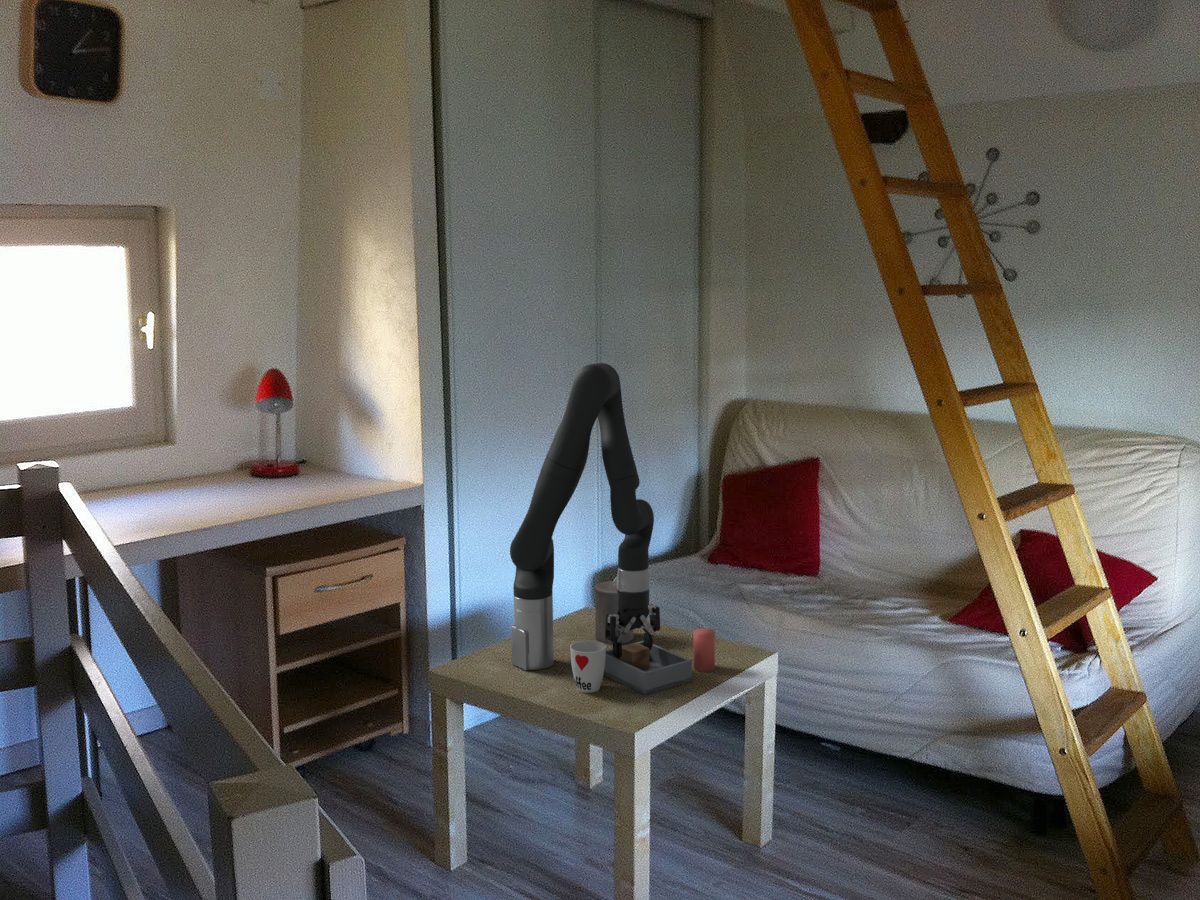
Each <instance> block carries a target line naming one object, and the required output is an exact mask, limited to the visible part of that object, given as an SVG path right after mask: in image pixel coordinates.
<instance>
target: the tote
mask: <svg viewBox="0 0 1200 900" xmlns="http://www.w3.org/2000/svg"><path fill="white" fill-rule="evenodd" d="M633 643H634V642H633ZM633 643H631V644H633ZM635 643H638V644H641V645H644V640H640V641H637V642H635ZM629 644H630V643H627V645H629ZM649 668H650V669H647V670H643V671H642V670H640V669H638V668H636V667H634V666H632V665H630V664H627V663H625V662H623V661H621V660H619V658H618V657H616V656H614V654H613V648H610V649H606V658H605V668H604V674H603V676H605V677H607V678H609V679H612V680H613V681H615V682H617V683H619V684H621V685H623V686H626V687H627V688H629V689H632V690H634V691H636V692H638V693H640V694H642V695H644V696H646V695H649V694H653V692H654V693H656V691H657V692H660V691H663V690H668V689H670V687H671V688H674V687H678V686H680V684H681V685H684V683H685V684H688V683H691V681H692V682H693V660H692V659H689V658H687V657H685V656H682V655H680V654H678V653H675V652H674V651H670V650H668V649H667V648H663V646H659V645H657V644H654V643H653V646H652V647H651V650H649ZM687 682H688V683H687ZM677 685H678V686H677ZM673 686H674V687H673Z"/></svg>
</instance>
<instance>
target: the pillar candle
mask: <svg viewBox="0 0 1200 900" xmlns="http://www.w3.org/2000/svg"><path fill="white" fill-rule="evenodd" d="M594 590H595V592H594V593H595V616H594V617H595V618H594V619H595V641H598V642H602V643H604V644H605V645H613V642H612V641H610V640H608V639H606V638H605V625H606V615H607V614H610V615H615V614H617V612H618V606H617V580H608V581H602V582H600V583H598V584H596V585H595V589H594ZM618 621H619V620H617V622H618ZM616 625H617V624H616ZM621 629H624V627H623V626H622V627H621ZM633 639H634V629H633V630H629V631H628V633H627V634H626V635H624V637H623V639H622V641H621V642H622V645H624V644H629V643H630V642H631V641H632V640H633Z"/></svg>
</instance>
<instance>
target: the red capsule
mask: <svg viewBox="0 0 1200 900" xmlns="http://www.w3.org/2000/svg"><path fill="white" fill-rule="evenodd" d="M692 633H693V636H692V638H693V642H692V643H693V646H692V647H693V653H692V654H693V655H692V657H693V660H692V669H693V668H694V669H695V670H694V669H693V670H694V671H696V670H697V671H696V672H699V671H701V672H700V673H710V672H712V670H713V671H714V670H715V666H716V665H715V661H716V660H715V659H716V658H715V655H716V652H715V651H716V646H715V645H716V641H715V640H716V632H715V630H714V629H712V628H707V627H706V628H704V627H703V628H702V627H701V628H696V629H694V630H693V632H692ZM709 671H710V672H709Z"/></svg>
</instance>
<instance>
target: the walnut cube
mask: <svg viewBox="0 0 1200 900" xmlns="http://www.w3.org/2000/svg"><path fill="white" fill-rule="evenodd" d="M628 644H629V645H628ZM628 644H625V645H622V657H620V658H619V660H621V661H623V662H625V663H627V664H630V665H632V666H634V667H636V668H638V669H640V670H642V671H643V670H647V669H650V668H649V648H648V647H645V646H643V645H641V644H638V643H636V642H633V644H632V643H628Z"/></svg>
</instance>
